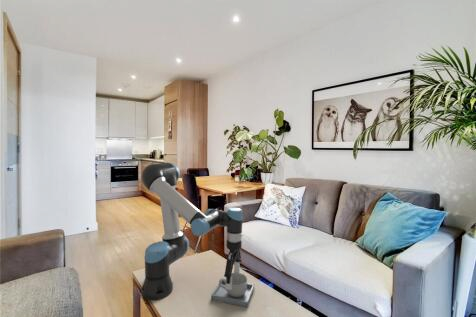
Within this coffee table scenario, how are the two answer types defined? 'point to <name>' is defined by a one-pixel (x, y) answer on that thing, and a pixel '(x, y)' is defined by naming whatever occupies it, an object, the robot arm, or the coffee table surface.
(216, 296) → the tray
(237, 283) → the teacup
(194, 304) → the coffee table surface
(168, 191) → the robot arm
